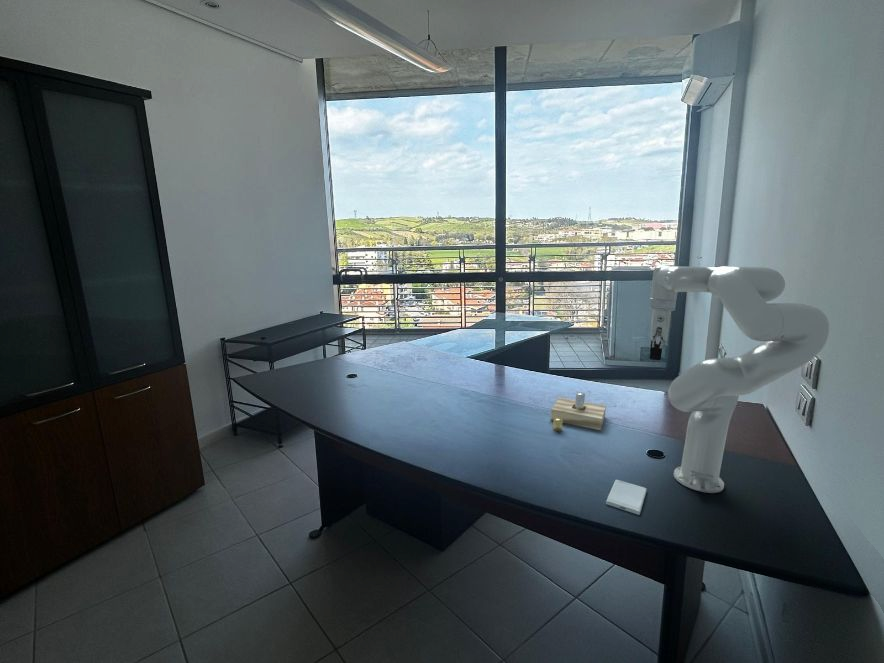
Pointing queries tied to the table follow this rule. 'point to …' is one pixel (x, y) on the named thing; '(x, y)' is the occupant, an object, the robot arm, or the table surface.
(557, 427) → the short brass pin
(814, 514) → the table surface
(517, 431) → the table surface
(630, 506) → the hard drive
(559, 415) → the block
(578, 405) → the tall steel pin
